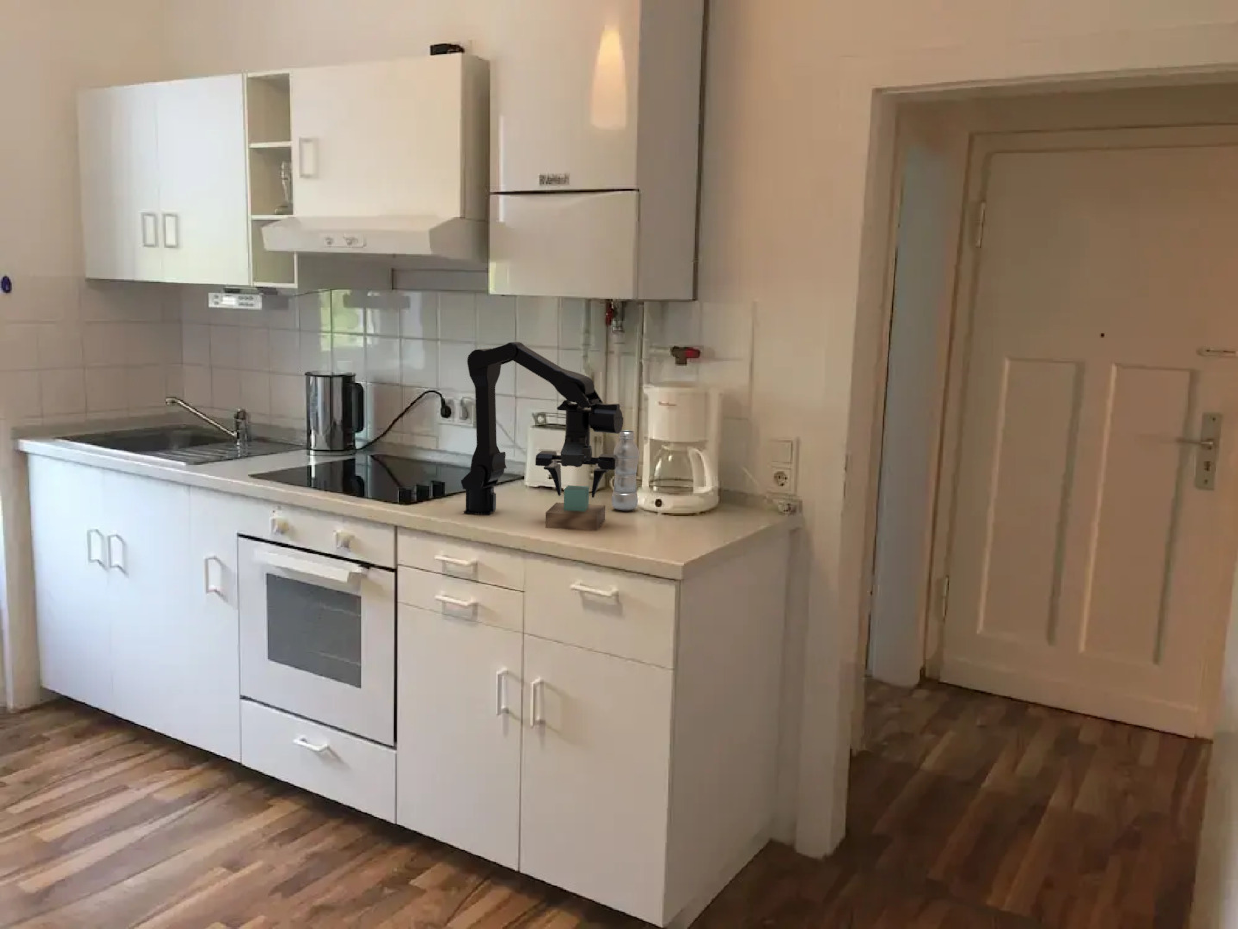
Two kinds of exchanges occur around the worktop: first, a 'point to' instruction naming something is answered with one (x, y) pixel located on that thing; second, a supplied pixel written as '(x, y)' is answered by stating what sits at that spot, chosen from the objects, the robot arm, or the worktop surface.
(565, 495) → the teal cube
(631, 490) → the plastic bottle
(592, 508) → the walnut box
